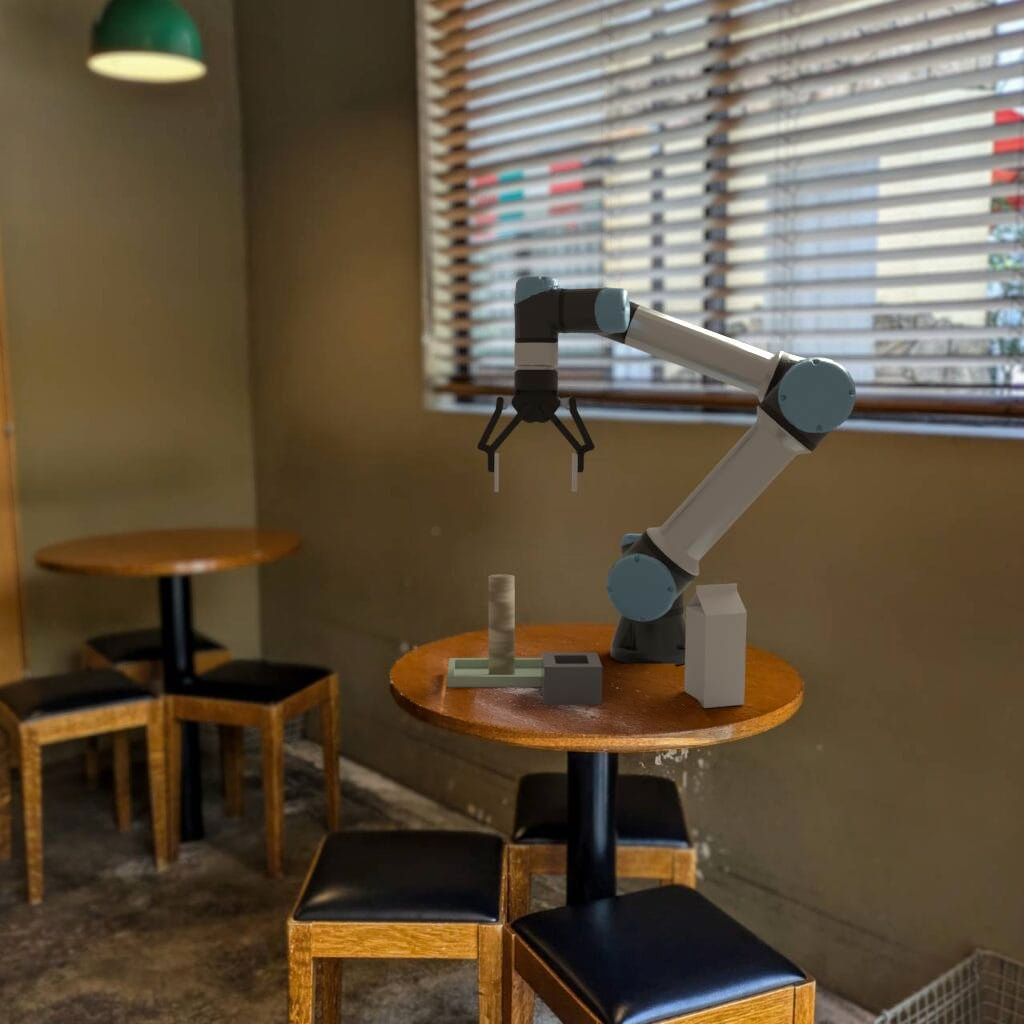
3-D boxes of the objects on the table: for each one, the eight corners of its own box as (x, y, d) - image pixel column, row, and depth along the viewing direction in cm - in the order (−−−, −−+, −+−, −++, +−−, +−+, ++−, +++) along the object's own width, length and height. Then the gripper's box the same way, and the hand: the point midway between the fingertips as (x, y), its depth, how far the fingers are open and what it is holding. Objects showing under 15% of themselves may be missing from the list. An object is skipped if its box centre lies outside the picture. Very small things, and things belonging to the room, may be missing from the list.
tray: (552, 672, 193) (552, 657, 193) (556, 692, 181) (556, 676, 181) (449, 673, 193) (449, 658, 192) (446, 692, 181) (446, 676, 180)
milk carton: (744, 705, 174) (747, 587, 172) (703, 709, 172) (706, 590, 170) (723, 693, 181) (726, 579, 179) (683, 696, 179) (686, 581, 177)
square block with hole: (596, 694, 180) (596, 652, 179) (601, 710, 171) (602, 666, 170) (541, 694, 180) (541, 652, 179) (544, 710, 171) (544, 667, 170)
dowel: (514, 672, 189) (514, 574, 187) (515, 678, 185) (515, 578, 183) (488, 672, 189) (488, 574, 187) (488, 678, 184) (488, 578, 183)
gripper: (606, 368, 193) (604, 489, 196) (464, 368, 193) (464, 488, 196) (610, 368, 186) (609, 493, 189) (463, 368, 185) (463, 493, 188)
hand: (535, 491), depth 192 cm, fingers open, 13 cm apart
